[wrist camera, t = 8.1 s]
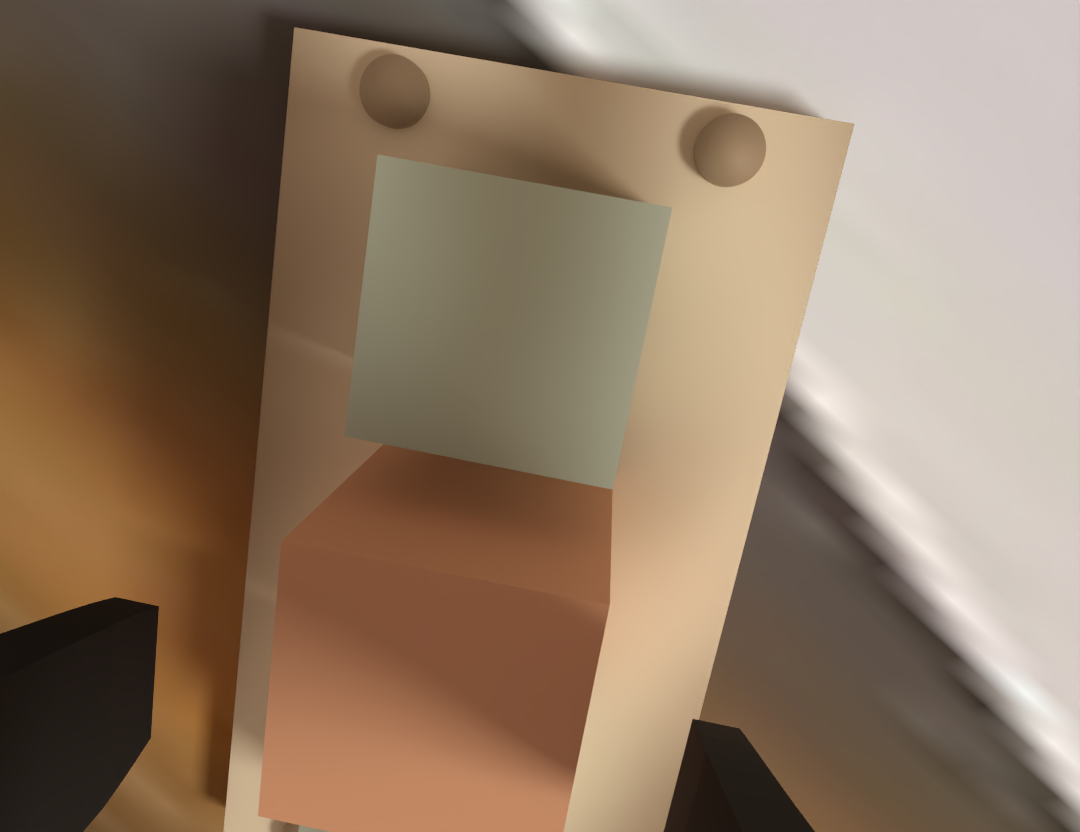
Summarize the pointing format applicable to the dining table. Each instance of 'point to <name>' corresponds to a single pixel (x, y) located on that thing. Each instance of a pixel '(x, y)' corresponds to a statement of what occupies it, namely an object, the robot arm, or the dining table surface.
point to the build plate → (677, 380)
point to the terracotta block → (436, 649)
